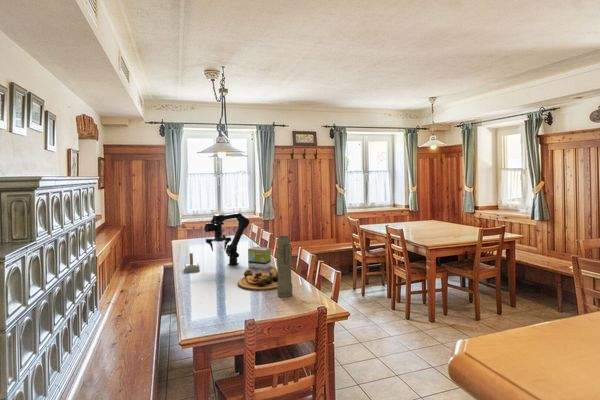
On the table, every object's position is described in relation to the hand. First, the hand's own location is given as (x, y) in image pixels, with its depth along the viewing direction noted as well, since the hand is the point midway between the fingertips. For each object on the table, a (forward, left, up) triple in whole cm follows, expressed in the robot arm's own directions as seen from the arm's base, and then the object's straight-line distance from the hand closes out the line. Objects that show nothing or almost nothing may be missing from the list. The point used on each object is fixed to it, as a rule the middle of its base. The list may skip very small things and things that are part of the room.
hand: (218, 250), depth 290 cm
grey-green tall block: (+43, +77, -13) cm, 89 cm away
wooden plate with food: (+26, +52, -14) cm, 60 cm away
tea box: (-12, +29, -13) cm, 34 cm away
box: (+14, -15, -13) cm, 24 cm away
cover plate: (+4, -23, -13) cm, 27 cm away
